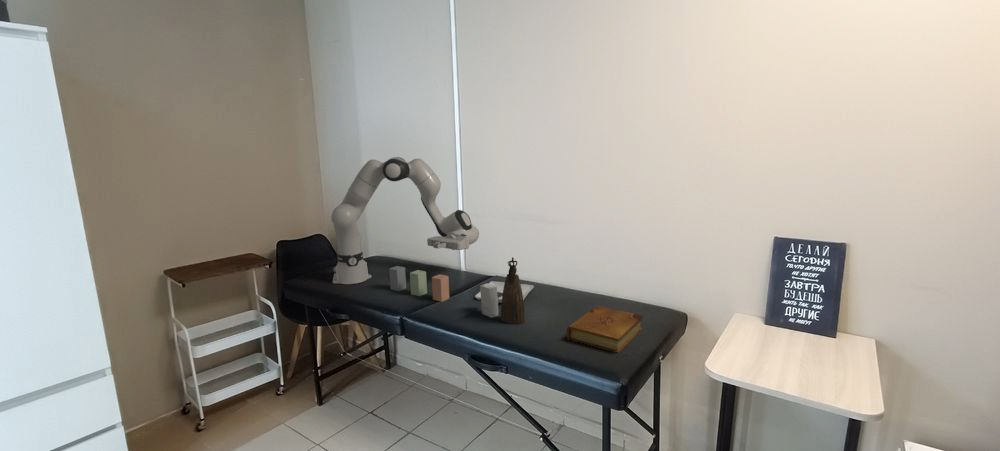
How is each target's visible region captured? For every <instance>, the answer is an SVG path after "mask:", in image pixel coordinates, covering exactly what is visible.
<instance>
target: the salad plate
mask: <svg viewBox="0 0 1000 451" xmlns="http://www.w3.org/2000/svg"><path fill="white" fill-rule="evenodd" d="M489 284H491V285H494V286H497V293H500V294H501V293H502V294H503V289H504V284H505V281H494V280H491V281H490V282H489ZM520 284H521V288H522V294H523V301H524V300H525V299H526V297H527V296H528V294H529V293H530V292H531V291H532V290H533V289H534V288H535V286H534V285H532V284H525V283H523V284H522V283H520ZM474 297H475V299H477V300H478V301H481V291H479V292H478V293H476V294H475V296H474ZM498 304H502V295H500V296H498Z"/></svg>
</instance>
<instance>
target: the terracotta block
mask: <svg viewBox="0 0 1000 451" xmlns="http://www.w3.org/2000/svg"><path fill="white" fill-rule="evenodd" d="M449 279H450V278H449V275H445V274H436V275H434V276H431V288H432V300H433V301H437V302H441V303H442V302H444V301H447V300H449V299H450V282H449Z"/></svg>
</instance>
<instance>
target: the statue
mask: <svg viewBox="0 0 1000 451" xmlns="http://www.w3.org/2000/svg"><path fill="white" fill-rule="evenodd" d="M507 265H508V267H509V269H508V273H507V274H506V277H505V281H504V282H505V284H504V289H503V293H502V295H501V296H502V303H501V306H500V307H501V309H500V320H501V321H502V322H504V323H507V324H511V325H512V324H513V325H518V324H523V323H525V321H526V316H525V315H526V314H525V304H524V302H525V301H524V300H523V294H522V288H521V284H522V283H521V280H520V277H519V274H518V273H517V265H518V261H517V260H515V258H514V257H511V260H510V261H507Z"/></svg>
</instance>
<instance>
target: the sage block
mask: <svg viewBox="0 0 1000 451" xmlns="http://www.w3.org/2000/svg"><path fill="white" fill-rule="evenodd" d="M409 279H410V280H409V283H410V295H411V296H417V297H422V296H423V295H425V294H426V295H427V294H428V287H427V271H424V270H420V269H417V270H415V271H410V272H409Z"/></svg>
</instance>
